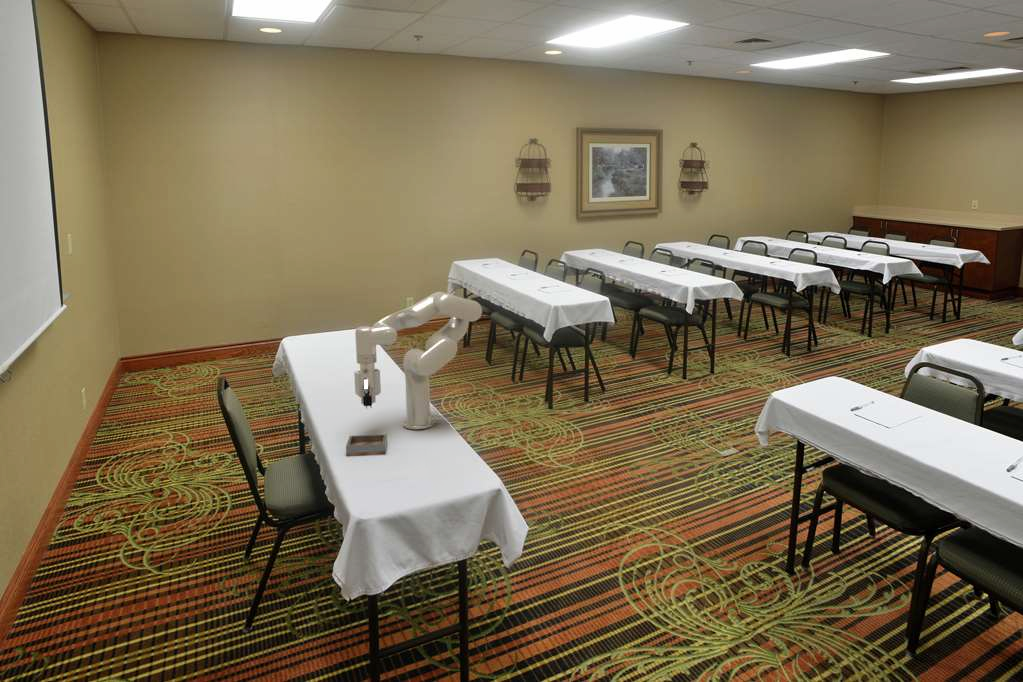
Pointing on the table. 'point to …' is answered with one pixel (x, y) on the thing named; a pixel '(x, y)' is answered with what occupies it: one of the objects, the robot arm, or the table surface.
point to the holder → (366, 445)
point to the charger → (374, 391)
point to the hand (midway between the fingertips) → (368, 402)
